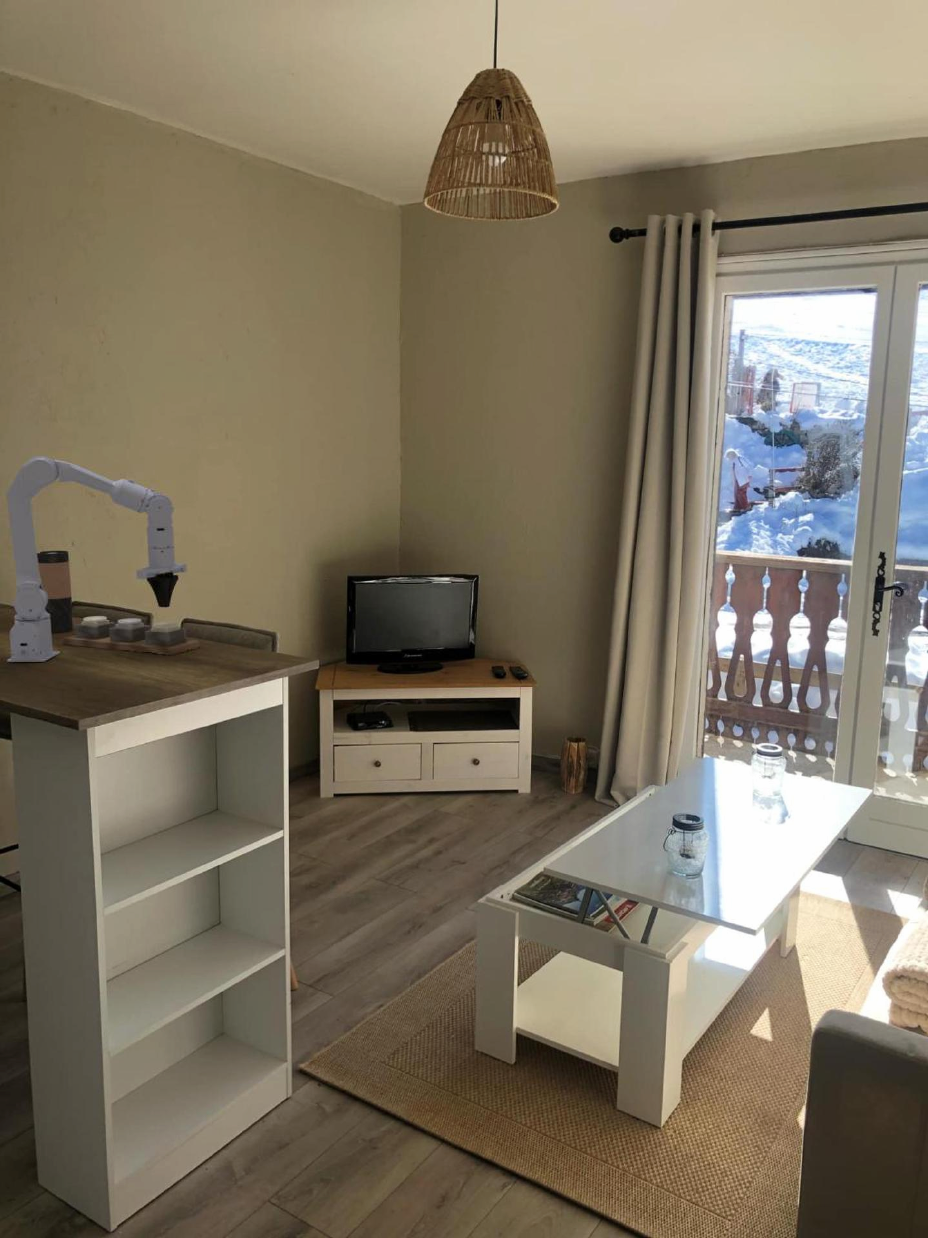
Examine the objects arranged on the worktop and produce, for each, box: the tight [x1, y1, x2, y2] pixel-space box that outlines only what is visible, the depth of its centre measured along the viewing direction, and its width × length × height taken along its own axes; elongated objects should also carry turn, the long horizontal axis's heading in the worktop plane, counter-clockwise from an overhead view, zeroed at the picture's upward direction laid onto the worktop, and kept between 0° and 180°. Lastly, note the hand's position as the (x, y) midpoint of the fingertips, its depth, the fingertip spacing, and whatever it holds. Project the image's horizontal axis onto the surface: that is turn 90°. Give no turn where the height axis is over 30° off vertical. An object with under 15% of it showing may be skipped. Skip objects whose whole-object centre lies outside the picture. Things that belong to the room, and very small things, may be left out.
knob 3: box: [150, 621, 181, 633], centre depth 232 cm, size 5×5×4 cm
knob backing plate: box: [62, 621, 201, 656], centre depth 236 cm, size 32×10×4 cm, turn 66°
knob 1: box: [80, 615, 110, 626], centre depth 240 cm, size 5×5×4 cm
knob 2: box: [116, 617, 145, 629], centre depth 236 cm, size 5×5×4 cm
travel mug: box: [37, 550, 73, 634], centre depth 256 cm, size 8×8×20 cm
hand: (164, 606), depth 231 cm, fingers closed
